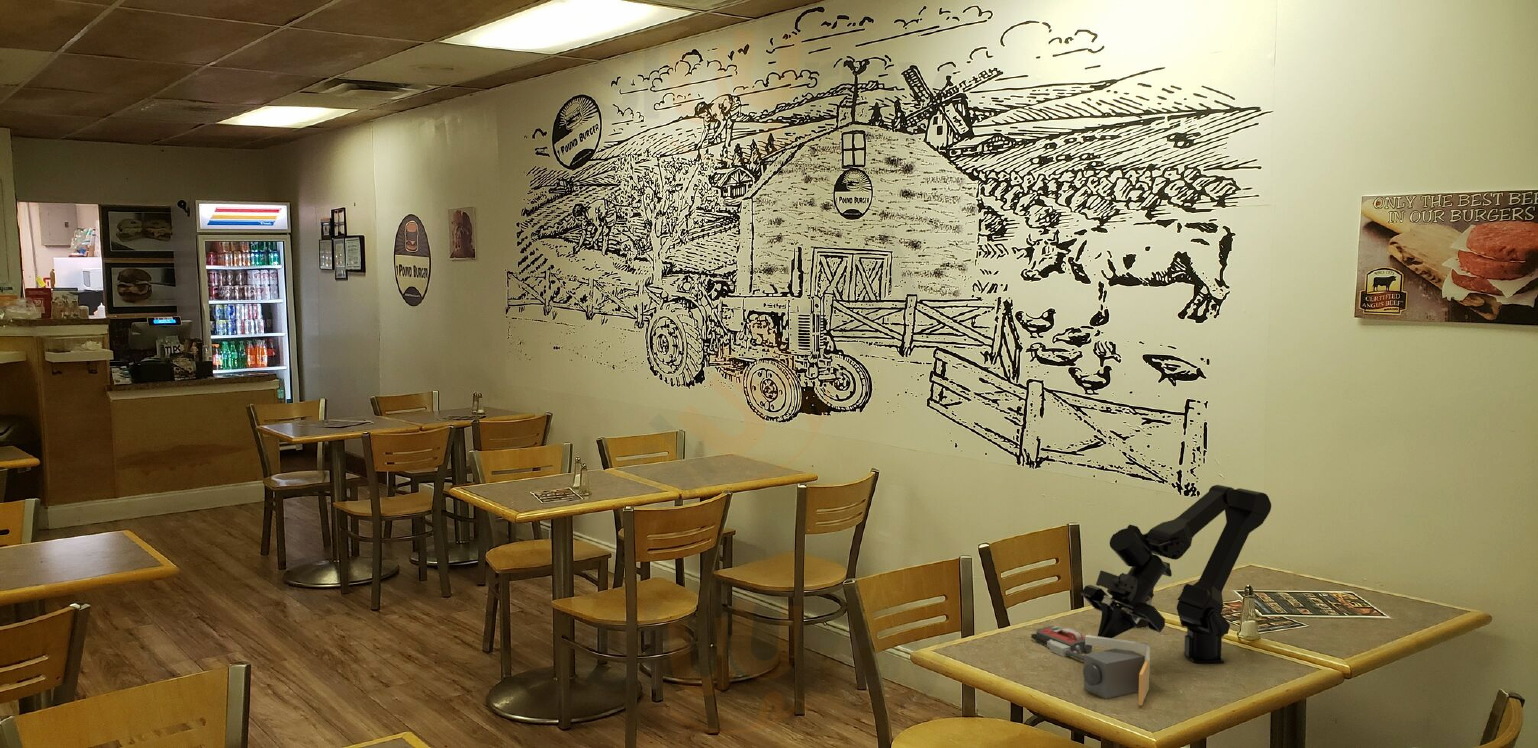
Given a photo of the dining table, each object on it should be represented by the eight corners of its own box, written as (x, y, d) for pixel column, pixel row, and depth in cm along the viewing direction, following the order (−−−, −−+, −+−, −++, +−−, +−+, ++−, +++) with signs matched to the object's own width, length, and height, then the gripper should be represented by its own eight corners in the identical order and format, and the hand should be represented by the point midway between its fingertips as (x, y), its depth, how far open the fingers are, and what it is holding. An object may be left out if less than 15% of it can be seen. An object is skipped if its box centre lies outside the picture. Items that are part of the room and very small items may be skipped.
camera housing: (1122, 680, 220) (1122, 647, 219) (1144, 690, 214) (1144, 655, 214) (1079, 689, 215) (1079, 655, 214) (1100, 700, 209) (1101, 664, 209)
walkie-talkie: (1023, 643, 244) (1091, 670, 227) (1023, 624, 244) (1091, 649, 227) (1051, 636, 249) (1120, 662, 232) (1052, 618, 248) (1120, 642, 231)
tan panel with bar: (1085, 678, 220) (1086, 635, 219) (1149, 687, 215) (1150, 643, 214) (1075, 695, 211) (1076, 650, 210) (1142, 706, 205) (1143, 659, 205)
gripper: (1087, 546, 228) (1046, 606, 224) (1155, 566, 211) (1112, 631, 207) (1115, 578, 232) (1075, 636, 228) (1184, 600, 215) (1142, 663, 212)
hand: (1099, 641), depth 219 cm, fingers closed
